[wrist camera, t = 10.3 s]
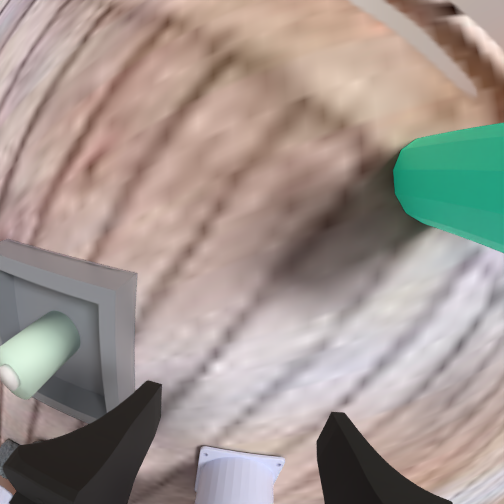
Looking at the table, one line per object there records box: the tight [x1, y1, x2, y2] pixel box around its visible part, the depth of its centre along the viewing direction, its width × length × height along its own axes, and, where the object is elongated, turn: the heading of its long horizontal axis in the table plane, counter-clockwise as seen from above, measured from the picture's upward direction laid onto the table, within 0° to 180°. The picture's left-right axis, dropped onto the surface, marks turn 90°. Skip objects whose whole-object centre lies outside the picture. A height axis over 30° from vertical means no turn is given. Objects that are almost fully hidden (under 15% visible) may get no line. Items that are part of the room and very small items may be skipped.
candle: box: [393, 123, 504, 253], centre depth 12 cm, size 6×6×12 cm
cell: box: [0, 311, 80, 399], centre depth 17 cm, size 4×4×8 cm
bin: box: [0, 239, 137, 424], centre depth 20 cm, size 13×13×4 cm
